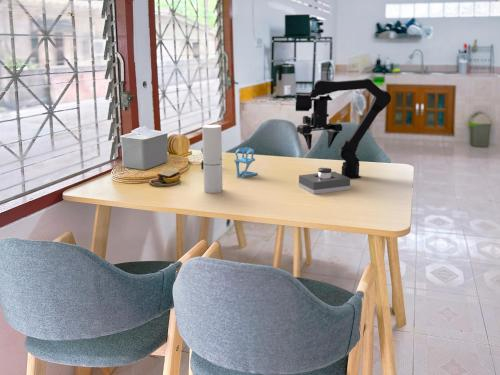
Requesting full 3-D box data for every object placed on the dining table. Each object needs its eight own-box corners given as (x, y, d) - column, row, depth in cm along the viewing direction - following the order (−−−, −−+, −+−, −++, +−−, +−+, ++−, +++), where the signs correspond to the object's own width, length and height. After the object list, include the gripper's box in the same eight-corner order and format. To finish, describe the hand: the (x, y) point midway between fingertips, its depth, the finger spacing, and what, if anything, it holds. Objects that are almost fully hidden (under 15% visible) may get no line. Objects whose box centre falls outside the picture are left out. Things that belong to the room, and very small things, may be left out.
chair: (232, 176, 233) (231, 149, 230) (242, 172, 240) (242, 145, 237) (247, 179, 229) (247, 150, 226) (257, 174, 236) (257, 147, 233)
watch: (200, 169, 245) (200, 145, 242) (203, 165, 253) (202, 142, 250) (213, 170, 245) (212, 145, 242) (215, 165, 253) (214, 142, 250)
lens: (326, 182, 217) (327, 167, 216) (333, 184, 213) (333, 169, 211) (315, 183, 215) (316, 168, 214) (322, 186, 211) (322, 171, 209)
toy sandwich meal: (143, 183, 224) (142, 172, 223) (169, 177, 233) (169, 166, 232) (161, 189, 215) (160, 177, 214) (188, 182, 224) (188, 171, 223)
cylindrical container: (225, 188, 214) (224, 125, 208) (218, 193, 208) (216, 128, 201) (208, 187, 217) (206, 124, 210) (201, 191, 210) (199, 127, 203)
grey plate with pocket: (333, 182, 223) (334, 171, 222) (349, 189, 212) (350, 178, 211) (298, 186, 217) (299, 175, 216) (313, 194, 206) (313, 182, 205)
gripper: (330, 107, 236) (328, 143, 240) (291, 110, 229) (290, 146, 233) (343, 110, 226) (342, 148, 230) (303, 113, 219) (302, 151, 223)
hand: (319, 148), depth 229 cm, fingers open, 9 cm apart
